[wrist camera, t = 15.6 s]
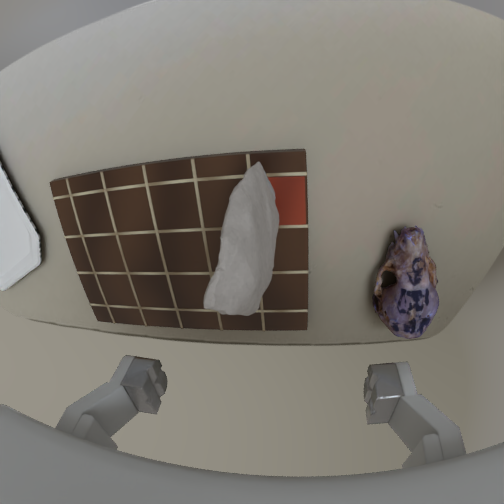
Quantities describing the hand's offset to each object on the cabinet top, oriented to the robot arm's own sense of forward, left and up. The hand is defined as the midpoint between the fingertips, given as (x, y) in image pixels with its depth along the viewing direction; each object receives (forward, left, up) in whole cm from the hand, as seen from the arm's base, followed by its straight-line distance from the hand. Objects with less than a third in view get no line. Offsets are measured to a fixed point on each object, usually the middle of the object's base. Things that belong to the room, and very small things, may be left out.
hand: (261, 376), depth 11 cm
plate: (+41, +8, -21) cm, 47 cm away
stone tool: (+2, 0, -19) cm, 19 cm away
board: (+10, +8, -21) cm, 24 cm away
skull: (-15, +6, -21) cm, 26 cm away
